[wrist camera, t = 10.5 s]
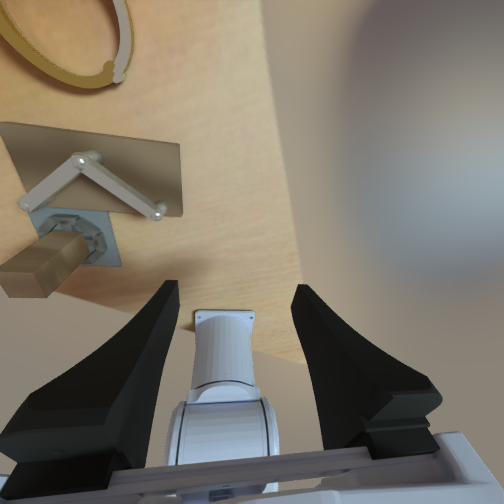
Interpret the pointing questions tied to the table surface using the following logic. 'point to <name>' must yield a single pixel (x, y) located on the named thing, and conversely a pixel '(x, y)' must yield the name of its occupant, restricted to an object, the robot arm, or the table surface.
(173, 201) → the base
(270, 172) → the table surface
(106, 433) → the robot arm
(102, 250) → the ring wand
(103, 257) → the mat
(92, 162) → the bent wire
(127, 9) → the ring
